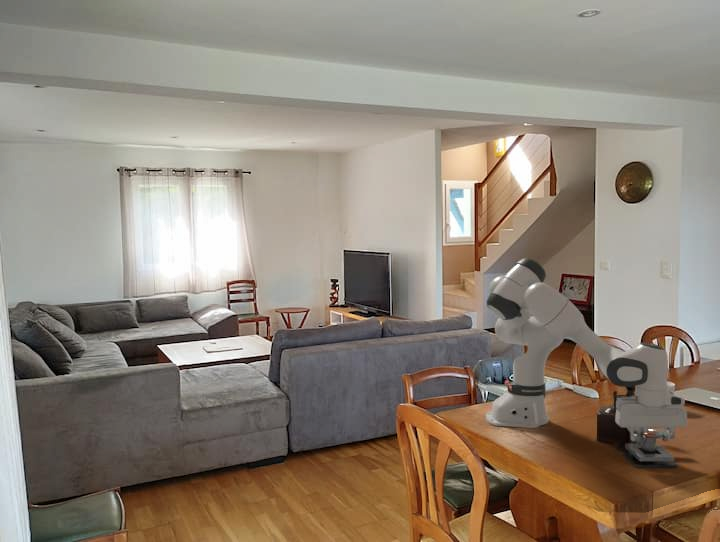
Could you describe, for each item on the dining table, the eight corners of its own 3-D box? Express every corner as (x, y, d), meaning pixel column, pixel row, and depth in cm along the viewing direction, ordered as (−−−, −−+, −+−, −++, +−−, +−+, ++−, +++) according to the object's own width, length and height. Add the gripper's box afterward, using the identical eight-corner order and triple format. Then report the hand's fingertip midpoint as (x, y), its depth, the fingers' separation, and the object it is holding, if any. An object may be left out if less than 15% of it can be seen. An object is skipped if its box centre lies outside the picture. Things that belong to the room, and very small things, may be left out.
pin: (645, 460, 180) (646, 435, 180) (641, 456, 184) (641, 431, 183) (657, 460, 180) (657, 435, 180) (652, 456, 184) (652, 431, 183)
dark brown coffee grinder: (631, 447, 194) (633, 392, 192) (595, 441, 199) (596, 388, 198) (637, 432, 207) (638, 381, 206) (603, 427, 213) (604, 377, 211)
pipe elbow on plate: (635, 467, 178) (636, 419, 176) (615, 447, 193) (616, 402, 192) (691, 467, 177) (692, 419, 176) (666, 447, 193) (667, 402, 191)
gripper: (620, 399, 178) (619, 444, 179) (690, 399, 177) (689, 444, 178) (612, 393, 184) (611, 437, 186) (680, 393, 183) (678, 437, 185)
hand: (650, 440), depth 182 cm, fingers open, 8 cm apart
